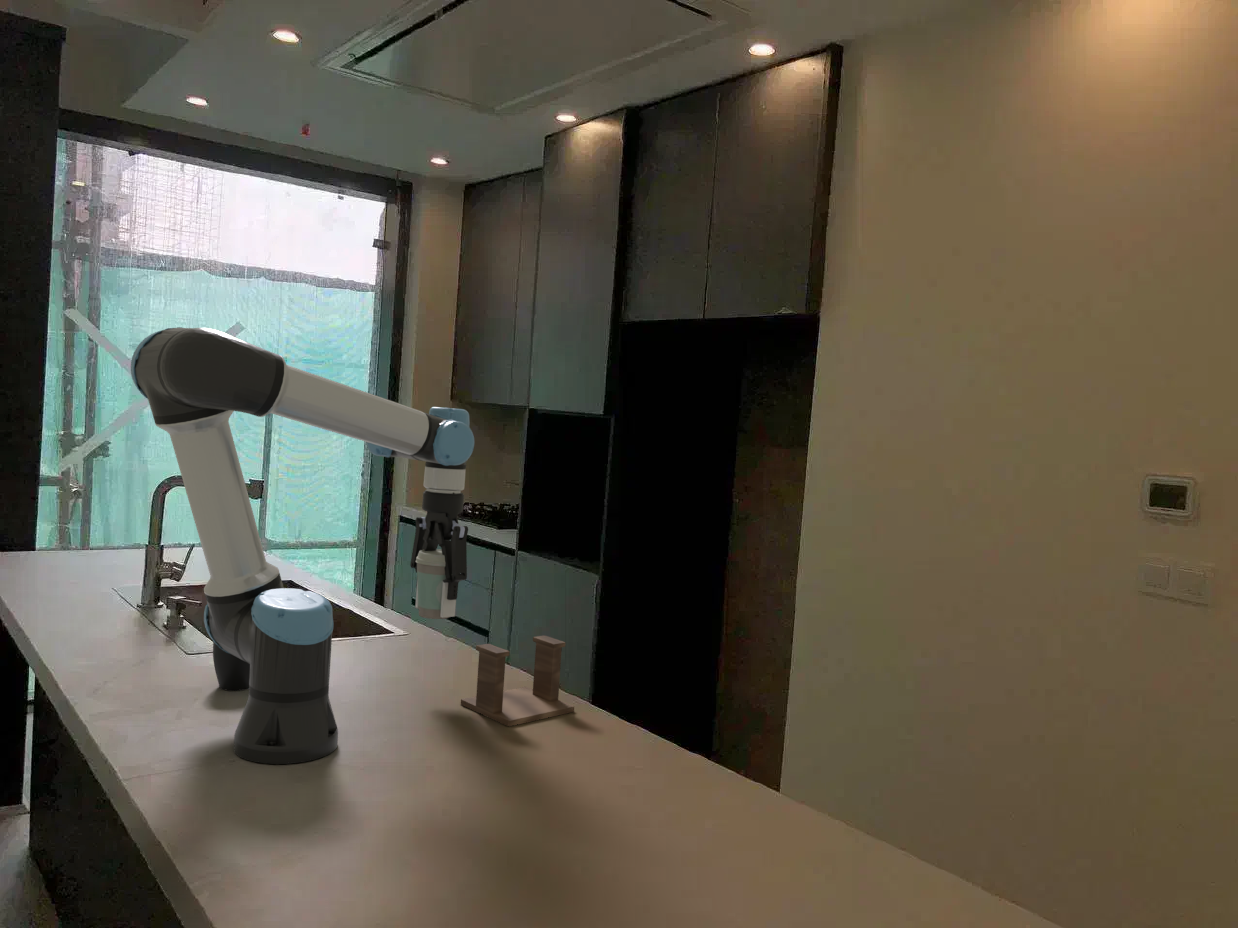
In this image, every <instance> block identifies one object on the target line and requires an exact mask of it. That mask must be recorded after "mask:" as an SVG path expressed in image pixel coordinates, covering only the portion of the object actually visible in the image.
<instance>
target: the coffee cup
mask: <svg viewBox="0 0 1238 928" xmlns="http://www.w3.org/2000/svg"><path fill="white" fill-rule="evenodd" d="M415 562H417V573H416V581H417V580H418V607H419V609H418V616H419V617H421V618H424V619H429V620H430V619H431V620H444V619H449V618H450V617H444V618H442V617H440V613H441V600H442V586H443V580H444V579H446V576H445V569H444V568H445V564H446V562H445V556H444V555H442V549H441V548H440V549H438V548H437V549H436V551H425V550H420V551H419V553H418V556H417V557H416V561H415ZM451 575H452V574H451Z"/></svg>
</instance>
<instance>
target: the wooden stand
mask: <svg viewBox="0 0 1238 928" xmlns="http://www.w3.org/2000/svg"><path fill="white" fill-rule="evenodd" d="M532 642H534V643H535V651H534V652H535V653H534V655H535V656H534V668H533V682H532V683H533V684H532V688H530V687H527V686H522V687H518V688H513V689H507V690H504V688H505V687H504V684H505V674H506V673H505V672H506V657H509V656H510V651H509V650H508V649H504V648H502V647H499V646H496V645H493V644H491V643H484V644H477V645H475V651H477V652H478V666H477V681H476V693H475V694H476V696H471V697H466V698H461V699H460V706H462V707H465V708H467V709H469V708H470V709H469V710H471V709H472V710H471V711H473V710H474V711H473V712H475V711H476V712H475V713H478V712H479V713H478V714H480V713H481V714H480V715H482V714H483V715H482V716H484V715H485V716H484V717H486V716H488V717H487V718H489V719H491V718H492V719H491V720H493V719H494V720H493V721H495V720H496V721H495V722H497V721H498V722H497V723H499V722H500V723H499V724H502V725H504V724H505V725H504V726H506V725H507V726H506V727H508V726H509V727H512V725H514V726H517V724H518V725H522V724H526V722H527V723H530V722H535V720H536V721H539V719H540V720H543V719H544V720H545V719H548V717H549V718H553V717H557V716H561V715H566V714H570V713H573V712H575V706H574V705H572V704H570V703H567V702H565V701H562V700H559V694H560V693H559V692H560V679H561V677H560V676H561V665H562V663H561V662H562V649H563V648H566V645H567V644H566V643H567V642H565V641H563V640H561V639H560V640H559V639H557V638H554V637H552V636H548V635H545V634H544V635H536V636H533V637H532Z"/></svg>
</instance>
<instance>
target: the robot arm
mask: <svg viewBox="0 0 1238 928" xmlns="http://www.w3.org/2000/svg"><path fill="white" fill-rule="evenodd" d="M130 373H131V379H132V381H133V383H134V385H135V387H136V389H137V390H138V391H139V393H140V394H141V395H142V397H144V398H145V399H147V400H148V403H149V408H150V411H151V414H152V417H153V420H154V424H155V426H156V427H158V428H159V429H162V430H163V431H164V432H166V433H168V435H169V437H170V440H171V444H172V447H173V451H174V454H175V457H176V461H177V464H178V468H179V471H180V476H181V478H182V482H183V485H184V489H185V492H186V496H187V499H188V502H189V506H190V511H191V513H192V517H193V520H194V523H195V527H196V531H197V534H198V538H199V540H200V544H201V548H202V552H203V556H204V558H205V561H206V565H207V570H208V572H209V573H208V574H209V576H210V577H209V579H208V581H207V582H206V584H205V586H204V587H203V592H204V597H205V598H206V605H205V607H204V612H203V623H204V627H205V630H206V633H207V635H208V636H209V638H210V639H211V640H212V641H214V643H215V644H216V645H218V646H219V648H221V649H222V650H223V651H225V652H226V653H229V654H232V655H234V656H236V657H237V658H239V659H241V660H243V661H245V662H247V663H248V664H250V678H249V689H248V698H247V701H246V704H245V706H244V709H243V711H242V714H241V717H240V719H239V722H238V724H237V726H236V729H235V732H234V735H233V736H234V737H233V738H234V739H233V752H234V753H235V754H236V756H238V757H240V758H241V759H244V760H247V761H249V762H250V761H251V762H254V763H260V764H270V765H273V764H274V765H284V764H285V765H287V764H297V763H298V764H299V763H305V762H309V761H310V762H311V761H314V760H318V759H321V758H323V757H325V756H329V754H332V753H333V752H334V751H335V750H336V749H337V748H338V740H339V729H338V725H337V722H336V719H335V718H336V717H335V714H334V711H333V707H332V704H331V701H330V697H329V694H330V692H329V691H330V677H331V676H330V675H331V674H330V673H331V661H332V660H331V658H332V657H331V656H332V642H333V641H332V639H333V638H332V637H333V630H334V618H333V606H332V604H331V602H330V600H328V599H327V598H326V597H325V596H323V595H321V594H319V593H317V592H315V591H311V590H304V589H301V588H293V587H292V588H291V587H290V588H289V587H287V588H286V587H284V584H283V581H282V577H281V573H280V570H279V568H278V567H277V566H276V565H273V564H271V563H269V562H268V561H267V559H266V555H265V553H264V549H263V545H262V540H261V538H260V534H259V530H258V526H257V523H256V519H255V515H254V512H253V508H252V505H251V500H250V497H249V494H248V489H247V484H246V482H245V478H244V475H243V472H242V471H243V470H242V467H241V464H240V460H239V456H238V452H237V448H236V444H235V442H234V437H233V434H232V430H231V426H230V423H229V420H230V418H231V416H232V414H233V413H234V412H239V413H243V414H248V415H252V416H255V417H258V418H263V417H266V416H268V415H269V414H272V415H275V416H279V417H283V418H284V419H285V418H286V419H289V420H292V421H296V422H299V423H302V424H306V425H309V426H312V427H315V428H319V429H322V430H326V431H328V432H332V433H336V434H339V435H342V436H346V437H349V438H352V439H355V440H359V441H363V442H365V443H366V446H367V449H368V451H369V452H370V453H371V454H372V455H374V456H376V457H385V458H401V459H408V460H415V461H422V462H425V464H424V465H425V466H424V474H423V486H422V487H424V488H425V490H424V491H423V492H422V501H421V502H422V506H421V508H422V510H423V511H425V512H426V515H425V516H417V517H416V518H415V535H414V538H413V539H414V540H413V546H412V552H411V558H410V565H409V566H410V568H411V569H414V570H415V573H416V574H417V562H415V561H416V557H417V556H418V553H419V551H420V550H425V551H436V549H438V546H439V547H440V549H441V550H442V555H444V556H445V562H446V564H445V568H444V569H445V576H446V579H444V580H443V586H442V600H441V613H440V617H442V618H444V617H449V618H451V617H452V618H453V617H456V607H457V605H456V604H457V599H458V592H459V583H460V582H462V581H465V580H467V578H468V573H467V572H468V571H467V569H468V567H467V566H468V565H467V564H468V561H467V559H468V558H467V555H468V554H467V537H468V532H469V527H468V526H467V525H461V524H459V520H458V519H459V517H458V515H459V514H460V513H463V511H464V499H465V494H464V493H463V492H461V491H463V490H465V487H466V486H465V485H466V483H465V482H466V469H467V462H468V459H470V457H471V455H472V454H473V451H474V447H475V437H474V433H473V430H472V429H471V427H470V421H471V420H470V413H469V412H468V411H467V410H466V409H463V408H452V407H451V408H450V407H440V406H432V407H431V408H429V411H428V413H426V412H423V411H422V410H419V409H416V408H413V407H410V406H407V405H404V404H401V403H398V402H397V401H393V400H390V399H387V398H384V397H382V396H378V395H377V394H375V395H374V394H372V393H369V392H366V391H364V390H360V389H357V388H355V387H352V386H349V385H347V384H343V383H340V382H337V381H334V380H332V379H329V378H326V377H323V376H320V375H317V374H315V373H311V372H308V371H305V370H303V369H300V368H296V367H294V366H291V365H288V364H287V362H286V360H285V358H284V357H283V355H280V354H278V353H275V352H273V351H271V350H270V351H269V350H266V349H264V348H262V347H260V346H257V345H254V344H252V343H250V342H248V341H245V340H243V339H241V338H238V337H236V336H234V335H232V334H229V333H227V332H224V331H221V330H218V329H214V328H210V327H209V328H208V327H193V328H192V327H180V326H178V327H177V326H176V327H168V328H165V329H162V330H159V331H158V330H157V331H155V332H153V333H150V334H149V335H148V336H146V337H145V338H144V339H142V340H141V342H140V343H139V344H138V345H137V347H136V348H135V349H134V352H133V354H132V357H131V361H130ZM451 574H452V575H451ZM415 587H416V591H415V592H416V594H415V595H416V596H415V609H416V610H417V609H418V610H419V607H418V580H417V579H416V585H415Z"/></svg>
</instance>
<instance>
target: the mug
mask: <svg viewBox="0 0 1238 928" xmlns="http://www.w3.org/2000/svg"><path fill="white" fill-rule="evenodd" d="M212 641H213V640H212ZM212 643H213V644H212V657H213V658H212V659H213V666H214V670H215V675H216V679H217V682H218V687H219V689H221V690H224V691H231V692H236V691H244V690H249V678H250V664H248V663H247V662H245V661H243V660H241V659H239V658H237V657H236V656H234V655H232V654H229V653H226V652H225V651H223V650H222V649H221V648H219V646H218V645H216V644H215V643H214V641H213V642H212Z"/></svg>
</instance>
